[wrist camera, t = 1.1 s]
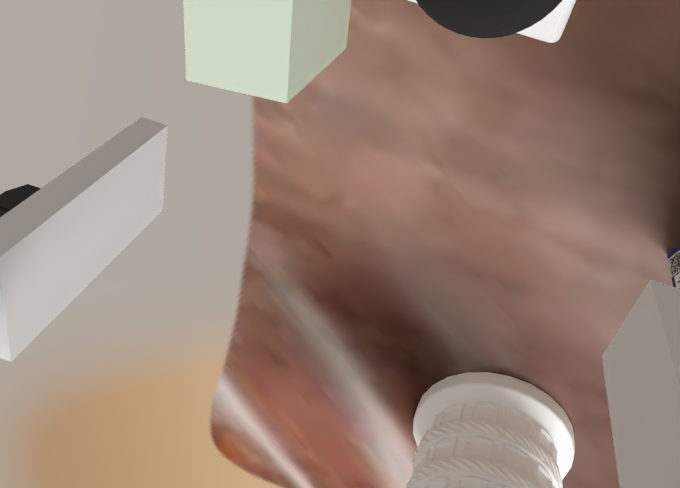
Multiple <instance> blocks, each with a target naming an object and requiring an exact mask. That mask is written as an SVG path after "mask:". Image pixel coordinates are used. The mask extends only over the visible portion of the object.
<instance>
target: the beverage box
mask: <svg viewBox="0 0 680 488" xmlns="http://www.w3.org/2000/svg"><path fill="white" fill-rule="evenodd" d="M667 257H668V262H669V267H670V272H671V277H672V282H673V287H676V288H679V289H680V246H678V247H677V248H676V249H675V250H673V251H672V252H671V253H670V254H668V255H667Z"/></svg>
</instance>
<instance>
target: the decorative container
mask: <svg viewBox="0 0 680 488" xmlns="http://www.w3.org/2000/svg"><path fill="white" fill-rule="evenodd" d="M413 435H414V438H415V441H416V444H417V451H416V452H415V453H414V454H415V458H414V459H413V462H414V467H413V475H412V477H411V479H410V481H409V483H407V488H563V485H562V479H563V478H564V477H565V475H566V474H567V473H568V471H569V470H570V468H571V466H572V462H573V457H574V452H575V439H574V434H573V428H572V424H571V422H570V420H569V419H568V417H567V415H566V413H565V411H564V410H563V408H562V407H561V406H560V405H559V404H557V403H556V402H555V401H554V400H553V399H552V398H551V397H550V396H549V395H548V394H546V393H545V392H543V391H542V390H540V389H538V388H537V387H535V386H534V385H532V384H530V383H527V382H525V381H522V380H519V379H517V378H514V377H512V376H508V375H502V374H497V373H491V372H466V373H462V374H457V375H453V376H449V377H446V378H444V379H443V380H441V381H439V382H437V383H435V384H433V385H432V386H431V387H430V388H429V389H428V390H427V391H426V392H425V393H424V394H423V395H422V397H421V400H420V402H419V404H418V406H417V409H416V413H415V416H414V420H413Z"/></svg>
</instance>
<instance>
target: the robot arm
mask: <svg viewBox="0 0 680 488" xmlns="http://www.w3.org/2000/svg"><path fill="white" fill-rule="evenodd" d="M167 127H168V126H167V125H164V124H161V123H158V122H155V121H152V120H148V119H146V118H142V117H141V118H140V119H139V120H137V121H136V122H134V123H133V124H131V125H130V126H128V127H127V128H126V129H124V130H123V131H121V132H120V133H119V134H117V135H116V136H114V137H113V138H112V139H110V140H109V141H107V142H106V143H105V144H103V145H102V146H100V147H99V148H97V149H96V150H95V151H93V152H92V153H90V154H89V155H88V156H86V157H85V158H83V159H82V160H81V161H79V162H78V163H76V164H75V165H74V166H72V167H71V168H69V169H68V170H66V171H65V172H64V173H62V174H61V175H60V176H58V177H57V178H55V179H54V180H52V181H51V182H50V183H48V184H47V185H46V186H44V187H43V188H41V189H40V188H38V187H35V186H31V185H29V184H27V185H24V186H21V187H18V188H15V189H12V190H8V191H6V192H4V193H2V194H1V195H0V358H2V359H5V360H8V361H13V360H14V359H15V357H16V356H18V355H19V354H20V352H21V351H22V350H24V349H25V348H26V347H27V345H29V344H30V343H31V342H32V341H33V339H35V338H36V337H37V335H38V334H40V333H41V332H42V331H43V329H45V328H46V327H47V325H49V323H51V321H53V320H54V318H56V317H57V315H59V313H60V312H62V310H64V309H65V308H66V307H67V306H68V305H69V304H70V302H72V301H73V299H75V298H76V296H77V295H78V294H80V293H81V291H82V290H83V289H84V288H85V287H86V286H87V285H88V284H89V283H90V282H91V281H92V280H93V279H94V278H95V277H96V276H97V275H98V274H99V273H100V272H101V271H102V270H103V269H104V268H105V267H106V266H107V265H108V264H109V263H110V262H111V261H112V260H113V259H114V258H115V257H116V256H117V255H118V254H119V253H120V252H121V251H122V250H123V249H124V248H125V247H126V246H127V245H128V244H129V243H130V242H131V241H132V240H133V239H134V238H135V237H136V236H137V235H138V234H139V233H140V232H141V231H142V230H143V229H144V228H145V227H146V226H147V225H148V224H149V223H150V222H151V221H152V220H153V219H154V218H155V217H156V216H157V215H158V214H159V213H160V212H161V211H162V210H163V196H164V179H165V162H166V145H167ZM602 360H603V368H604V375H605V382H606V390H607V397H608V405H609V412H610V420H611V427H612V434H613V442H614V449H615V457H616V464H617V471H618V479H619V486H620V488H680V289H679V288H676V287H673V286H670V285H667V284H664V283H660V282H657V281H654V280H651V279H650V281H649V282H648V284H647V286H646V287H645V289H644V290H643V292H642V294H641V295H640V297H639V298H638V300H637V301H636V303H635V305H634V306H633V308H632V309H631V311H630V312H629V314H628V316H627V317H626V319H625V320H624V322H623V323H622V325H621V327H620V328H619V330H618V331H617V333H616V334H615V336H614V338H613V339H612V341H611V342H610V344H609V345H608V347H607V349H606V350H605V352H604V353H603V355H602Z"/></svg>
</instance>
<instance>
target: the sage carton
mask: <svg viewBox="0 0 680 488" xmlns="http://www.w3.org/2000/svg"><path fill="white" fill-rule="evenodd" d="M183 3H184V31H185V32H184V33H185V58H186V59H185V60H186V80H187V81H191V82H196V83H200V84H205V85H209V86H213V87H218V88H222V89H226V90H231V91H235V92H240V93H244V94H248V95H253V96H257V97H262V98H266V99H270V100H275V101H279V102H284V103H288V102H289V101H290V100H291V99H292V98H293V97H294V96H295V95H296V94H297V93H298V92H299V91H301V90H302V89H303V88H304V87H305V86H306V85H307V84H308V83H309V82H310V81H311V80H312V79H313V78H315V77H316V76H317V75H318V74H319V73H320V72H321V71H322V70H323V69H324V68H325V67H326V66H327V65H329V64H330V63H331V62H332V61H333V60H334V59H335V58H336V57H337V56H338V55H339V54H340V53H341V52H343V51H344V50H345V49H346V44H347V35H348V26H349V17H350V8H351V0H183Z"/></svg>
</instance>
